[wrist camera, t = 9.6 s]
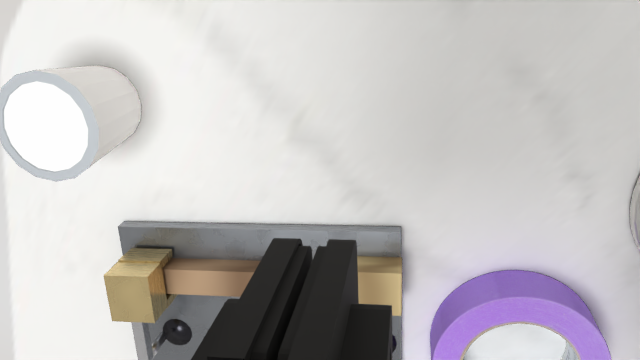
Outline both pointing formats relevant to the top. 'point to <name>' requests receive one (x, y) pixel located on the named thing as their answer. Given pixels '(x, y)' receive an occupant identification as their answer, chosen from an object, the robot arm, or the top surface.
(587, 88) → the top surface
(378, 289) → the trammel beam
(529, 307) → the masking tape
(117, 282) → the sliding head
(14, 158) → the light grey cup
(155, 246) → the plate
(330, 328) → the robot arm
